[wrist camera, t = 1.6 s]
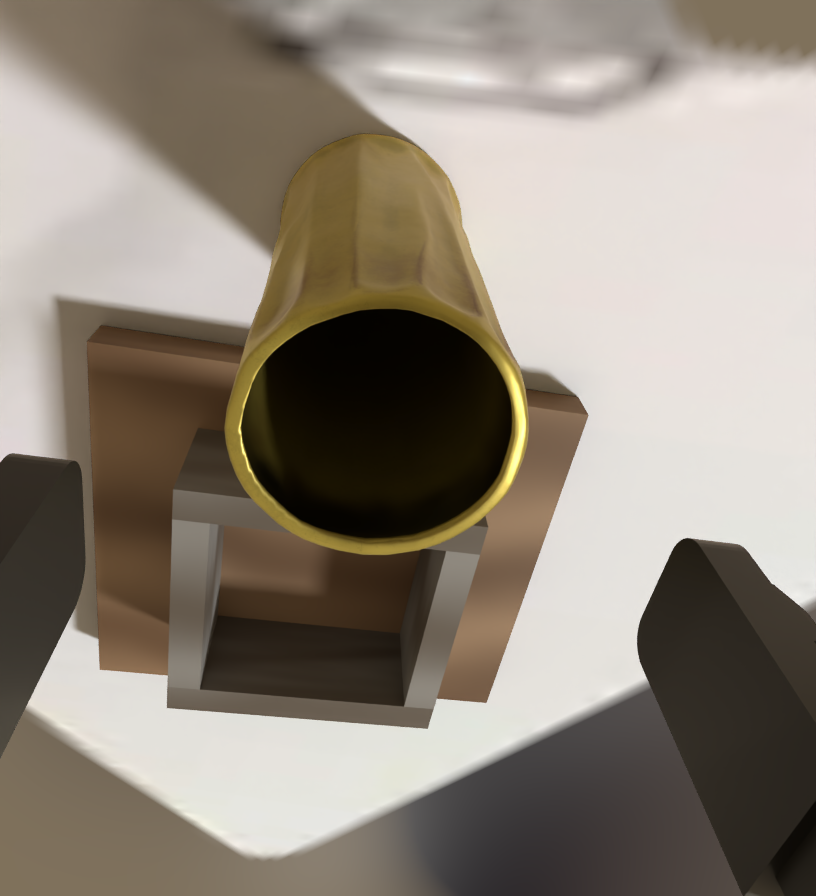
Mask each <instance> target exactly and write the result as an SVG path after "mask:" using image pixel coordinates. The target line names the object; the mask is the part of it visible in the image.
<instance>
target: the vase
mask: <svg viewBox="0 0 816 896" xmlns="http://www.w3.org/2000/svg"><path fill="white" fill-rule="evenodd" d="M280 226H281V228H280V232H279V235H278V239H277V242H276V245H275V248H274V251H273V256H272V262H271V267H270V272H269V276H268V280H267V284H266V287H265V290H264V294H263V297H262V300H261V303H260V305H259V307H258V310H257V312H256V315H255V318H254V320H253V323H252V326H251V328H250V331H249V334H248V337H247V340H246V343H245V347H244V351H243V355H242V358H241V362H240V365H239V368H238V371H237V374H236V378H235V382H234V385H233V389H232V392H231V396H230V399H229V403H228V406H227V412H226V419H225V427H224V429H225V439H226V446H227V450H228V454H229V458H230V461H231V463H232V466H233V468H234V471H235V473H236V476H237V477H238V479H239V481H240V483H241V485H242V486H243V488H244V490H245V491H246V492H247V494H248V495H249V496H250V497H251V499H252V500H253V501H254V502H255V503H256V504H257V505H258V506H259V507H260V508H261V509H262V510H264V511H265V512H266V513H267V514H268V515H269V516H270V517H271V518H272V519H273V520H274V521H275V522H277V523H278V524H279V525H281V526H282V527H284V528H285V529H287V530H288V531H290V532H291V533H293V534H295V535H297V536H298V537H300V538H302V539H304V540H307V541H309V542H312V543H315V544H317V545H320V546H324V547H328V548H331V549H335V550H339V551H345V552H351V553H356V554H362V555H391V554H397V553H404V552H411V551H417V550H421V549H424V548H428V547H431V546H434V545H437V544H440V543H442V542H444V541H446V540H449V539H451V538H453V537H455V536H456V535H458V534H460V533H462V532H464V531H465V530H467V529H468V528H470V527H471V526H473V525H474V524H476V523H477V522H479V521H480V520H481V519H482V518H483V517H484V516H486V515H487V514H488V513H489V512H490V511H491V510H492V509H493V508H494V507H495V506H496V505H497V504H498V503H499V502H500V501H501V500H502V499H503V497H504V496H505V495H506V494H507V493H508V491H509V489H510V487H511V486H512V484H513V482H514V480H515V478H516V475H517V473H518V471H519V468H520V466H521V463H522V461H523V458H524V454H525V451H526V447H527V441H528V432H529V429H528V407H527V398H526V391H525V385H524V381H523V378H522V374H521V371H520V367H519V365H518V363H517V361H516V359H515V358H514V356H513V354H512V352H511V350H510V348H509V346H508V344H507V341H506V339H505V337H504V335H503V333H502V330H501V328H500V325H499V322H498V319H497V317H496V314H495V311H494V308H493V305H492V302H491V300H490V297H489V295H488V292H487V289H486V286H485V284H484V281H483V278H482V276H481V273H480V271H479V268H478V266H477V264H476V262H475V259H474V257H473V254H472V252H471V248H470V245H469V241H468V238H467V236H466V233H465V231H464V229H463V227H462V216H461V208H460V205H459V201H458V198H457V195H456V193H455V190H454V188H453V186H452V184H451V182H450V180H449V178H448V176H447V175H446V174H445V173H444V171H443V170H442V169H441V167H440V166H439V165H438V164H437V163H436V162H435V161H434V160H433V159H432V158H431V157H430V156H428V155H427V154H426V153H425V152H423V151H422V150H421V149H419V148H418V147H416V146H414V145H413V144H410V143H408V142H406V141H404V140H401V139H398V138H395V137H391V136H386V135H377V134H359V135H353V136H350V137H347V138H343V139H341V140H338V141H336V142H334V143H331V144H329V145H327V146H325V147H323V148H321V149H320V150H318V151H317V152H316V153H314V154H313V155H312V156H311V157H310V158H309V159H308V160H307V161H306V162H305V163H304V164H303V165H302V166H301V167H300V169H299V170H298V171H297V173H296V174H295V176H294V177H293V179H292V180H291V182H290V184H289V187H288V189H287V192H286V194H285V198H284V202H283V207H282V213H281V220H280Z"/></svg>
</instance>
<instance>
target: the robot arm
mask: <svg viewBox="0 0 816 896" xmlns="http://www.w3.org/2000/svg"><path fill="white" fill-rule="evenodd" d="M84 572H85V537H84V514H83V491H82V474H81V469H80V466H79V464H78V463H77V462H76V461H71V460H63V459H55V458H46V457H38V456H30V455H22V454H14V453H12V454H9V455H7V456H6V457H5V458H4V459H3V460H2V461H1V462H0V758H1V756H2V754H3V752H4V750H5V748H6V746H7V744H8V742H9V740H10V738H11V736H12V734H13V731H14V730H15V728H16V726H17V724H18V721H19V720H20V718H21V716H22V714H23V712H24V710H25V708H26V706H27V704H28V701H29V699H30V697H31V695H32V693H33V691H34V689H35V687H36V685H37V683H38V681H39V679H40V677H41V675H42V673H43V671H44V669H45V667H46V665H47V663H48V661H49V659H50V657H51V655H52V653H53V651H54V649H55V647H56V645H57V643H58V641H59V639H60V637H61V635H62V633H63V631H64V629H65V627H66V625H67V623H68V621H69V619H70V617H71V615H72V613H73V611H74V609H75V606H76V604H77V601H78V599H79V595H80V592H81V588H82V584H83V578H84ZM637 647H638V655H639V659H640V663H641V665H642V668H643V670H644V672H645V675H646V677H647V679H648V681H649V684H650V686H651V688H652V690H653V693H654V695H655V697H656V700H657V702H658V704H659V706H660V709H661V711H662V713H663V715H664V718H665V720H666V722H667V725H668V727H669V729H670V731H671V734H672V736H673V738H674V740H675V743H676V745H677V747H678V750H679V751H680V754H681V756H682V758H683V761H684V763H685V765H686V768H687V770H688V772H689V775H690V777H691V779H692V781H693V784H694V786H695V788H696V790H697V793H698V795H699V797H700V799H701V802H702V804H703V806H704V809H705V811H706V813H707V815H708V818H709V820H710V822H711V825H712V827H713V829H714V831H715V834H716V836H717V838H718V840H719V843H720V845H721V847H722V850H723V852H724V854H725V856H726V858H727V861H728V863H729V865H730V867H731V870H732V872H733V875H734V877H735V879H736V881H737V883H738V886H739V888H740V890H741V893H742V895H743V896H816V624H815V622H814V621H813V619H812V618H811V617H810V615H809V614H808V613H807V612H806V611H805V610H804V609H803V608H801V607H800V606H799V605H798V604H796V603H795V602H794V601H793V600H792V599H790V598H789V597H788V596H787V595H786V594H784V593H783V592H782V591H781V590H779V589H778V588H777V587H776V586H775V585H773V584H771V582H770V581H769V580H768V578H767V577H766V576H765V574H764V573H763V572H762V570H761V569H760V568H759V566H758V565H757V564H756V562H755V561H754V559H753V558H752V557H751V555H750V554H749V553H748V551H747V550H746V549H745V548H744V547H742V546H740V545H738V544H731V543H723V542H715V541H707V540H698V539H690V538H686V539H683V540H681V541H679V542H678V543H677V544H676V546H675V547H674V549H673V551H672V552H671V555H670V557H669V559H668V561H667V563H666V565H665V568H664V570H663V572H662V574H661V576H660V578H659V581H658V583H657V585H656V587H655V589H654V591H653V594H652V596H651V598H650V600H649V602H648V604H647V607H646V609H645V611H644V613H643V615H642V618H641V620H640V624H639V628H638V635H637Z"/></svg>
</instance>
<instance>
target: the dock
mask: <svg viewBox="0 0 816 896" xmlns="http://www.w3.org/2000/svg"><path fill="white" fill-rule="evenodd" d="M243 351H244V347H241V346H234V345H228V344H221V343H214V342H208V341H201V340H194V339H188V338H181V337H174V336H168V335H161V334H154V333H148V332H141V331H135V330H128V329H121V328H115V327H108V326H100V327H99V328H98V329H97V330H96V332H95V333H94V334H93V335H92V336H91V337H90V339H89V340H88V341H87V358H88V383H89V408H90V433H91V459H92V484H93V509H94V534H95V560H96V585H97V610H98V635H99V661H100V670H111V671H123V672H134V673H146V674H158V675H168V688H167V708H175V709H187V710H200V711H212V712H225V713H237V714H250V715H262V716H275V717H287V718H300V719H312V720H325V721H338V722H350V723H363V724H375V725H388V726H400V727H413V728H425V729H428V725H429V722H430V719H431V715H432V712H433V709H434V706H435V702H436V699H448V700H460V701H472V702H483V703H486V702H487V700H488V697H489V694H490V691H491V688H492V686H493V683H494V680H495V677H496V674H497V672H498V669H499V666H500V663H501V660H502V657H503V655H504V652H505V649H506V646H507V643H508V641H509V638H510V635H511V632H512V629H513V626H514V624H515V621H516V618H517V615H518V612H519V610H520V607H521V604H522V601H523V598H524V595H525V593H526V590H527V587H528V584H529V581H530V579H531V576H532V573H533V570H534V567H535V564H536V562H537V559H538V556H539V553H540V550H541V548H542V545H543V542H544V539H545V536H546V533H547V531H548V528H549V525H550V522H551V519H552V517H553V514H554V511H555V508H556V505H557V503H558V500H559V497H560V494H561V491H562V488H563V486H564V483H565V480H566V477H567V474H568V472H569V469H570V466H571V463H572V460H573V457H574V455H575V452H576V449H577V446H578V443H579V441H580V438H581V435H582V432H583V429H584V426H585V424H586V421H587V418H588V413H587V412H586V410H585V408H584V406H583V405H582V403H581V401H580V399H579V398H578V397H574V396H568V395H561V394H554V393H548V392H541V391H534V390H528V389H525V391H526V398H527V407H528V429H529V432H528V441H527V447H526V451H525V454H524V458H523V461H522V463H521V466H520V468H519V471H518V473H517V475H516V478H515V480H514V482H513V484H512V486H511V487H510V489H509V491H508V493H507V494H506V495H505V496H504V497H503V499H502V500H501V501H500V502H499V503H498V504H497V505H496V506H495V507H494V508H493V509H492V510H491V511H490V512H489V513H488V514H487V515H486V516H484V517H483V518H482V519H481V520H480V521H479V522H477V523H476V524H474V525H473V526H471V527H470V528H468V529H467V530H465V531H464V532H462V533H460V534H458V535H456V536H455V537H453V538H451V539H449V540H446V541H444V542H442V543H440V544H437V545H434V546H431V547H428V548H424V549H421V550H417V551H411V552H404V553H397V554H391V555H362V554H356V553H351V552H345V551H339V550H335V549H331V548H328V547H324V546H320V545H317V544H315V543H312V542H309V541H307V540H304V539H302V538H300V537H298V536H297V535H295V534H293V533H291V532H290V531H288V530H287V529H285V528H284V527H282V526H281V525H279V524H278V523H277V522H275V521H274V520H273V519H272V518H271V517H270V516H269V515H268V514H267V513H266V512H265V511H264V510H262V509H261V508H260V507H259V506H258V505H257V504H256V503H255V502H254V501H253V500H252V499H251V497H250V496H249V495H248V494H247V492H246V491H245V490H244V488H243V486H242V485H241V483H240V481H239V479H238V477H237V476H236V473H235V471H234V468H233V466H232V463H231V461H230V458H229V454H228V450H227V446H226V439H225V429H224V427H225V419H226V412H227V406H228V403H229V399H230V396H231V392H232V389H233V385H234V382H235V378H236V374H237V371H238V368H239V365H240V362H241V358H242V355H243Z"/></svg>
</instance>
